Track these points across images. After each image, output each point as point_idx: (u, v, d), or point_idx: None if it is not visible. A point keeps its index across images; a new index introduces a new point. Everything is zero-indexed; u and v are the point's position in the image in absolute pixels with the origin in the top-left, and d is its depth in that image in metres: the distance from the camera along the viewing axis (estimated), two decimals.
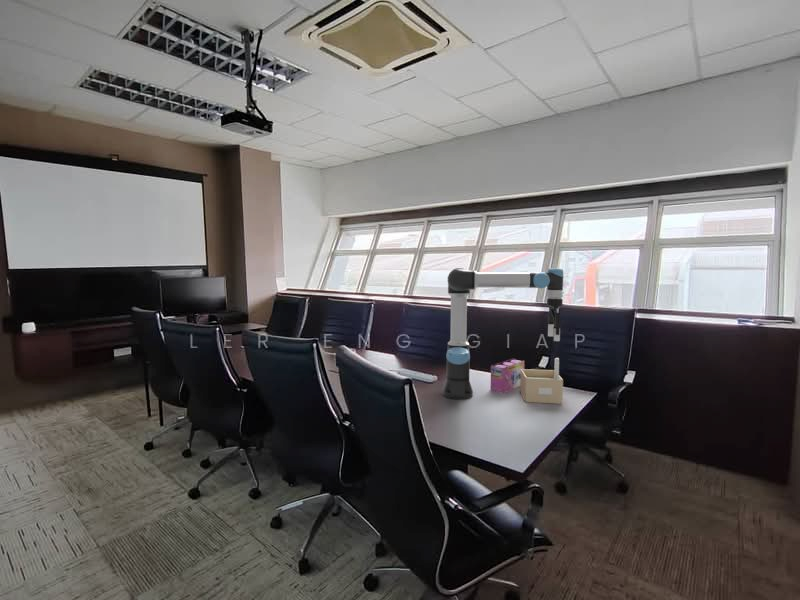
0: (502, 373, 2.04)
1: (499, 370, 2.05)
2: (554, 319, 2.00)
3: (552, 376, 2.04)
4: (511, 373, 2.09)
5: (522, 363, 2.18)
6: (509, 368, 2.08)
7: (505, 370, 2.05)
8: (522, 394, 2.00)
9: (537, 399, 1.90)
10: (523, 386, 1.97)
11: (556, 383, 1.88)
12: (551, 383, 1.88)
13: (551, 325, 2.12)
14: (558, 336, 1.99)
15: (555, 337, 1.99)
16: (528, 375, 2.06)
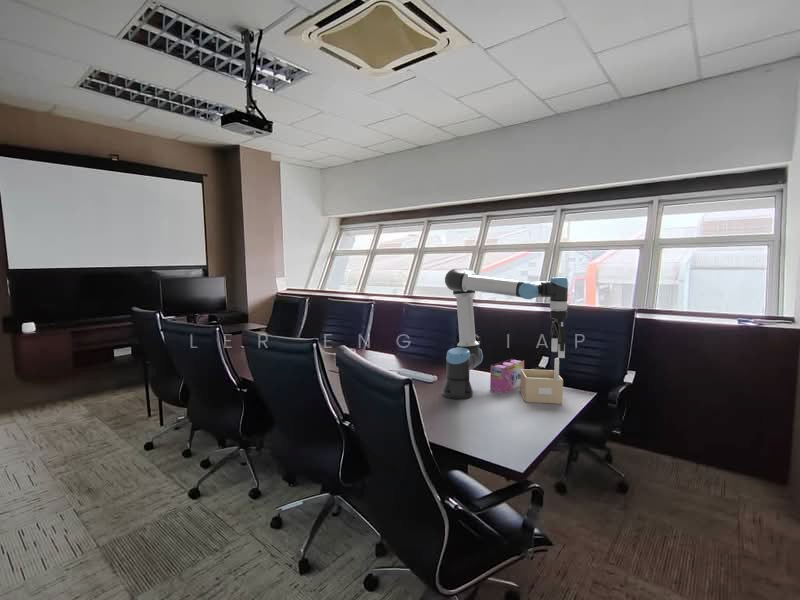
0: (502, 373, 2.04)
1: (499, 371, 2.05)
2: (558, 334, 1.81)
3: (552, 376, 2.04)
4: (511, 373, 2.09)
5: (522, 363, 2.17)
6: (508, 368, 2.08)
7: (504, 370, 2.05)
8: (522, 394, 2.00)
9: (537, 399, 1.90)
10: (523, 386, 1.97)
11: (556, 383, 1.88)
12: (551, 383, 1.88)
13: (555, 339, 1.93)
14: (563, 352, 1.80)
15: (560, 353, 1.80)
16: (528, 375, 2.06)
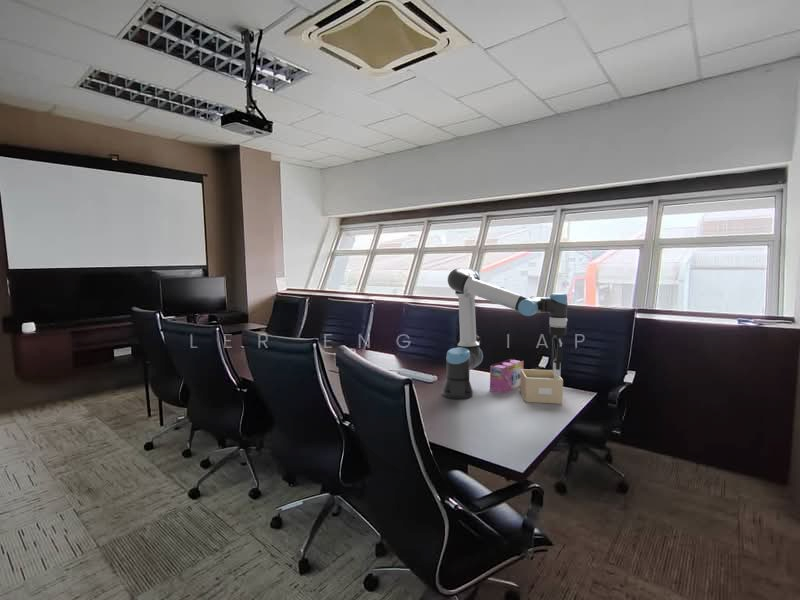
0: (502, 373, 2.04)
1: (499, 371, 2.05)
2: (556, 352, 1.85)
3: (552, 376, 2.04)
4: (510, 373, 2.09)
5: (521, 363, 2.17)
6: (508, 369, 2.07)
7: (504, 371, 2.05)
8: (522, 394, 2.00)
9: (537, 399, 1.90)
10: (523, 386, 1.97)
11: (556, 383, 1.88)
12: (551, 383, 1.88)
13: None
14: (559, 371, 1.86)
15: (555, 372, 1.86)
16: (528, 375, 2.06)
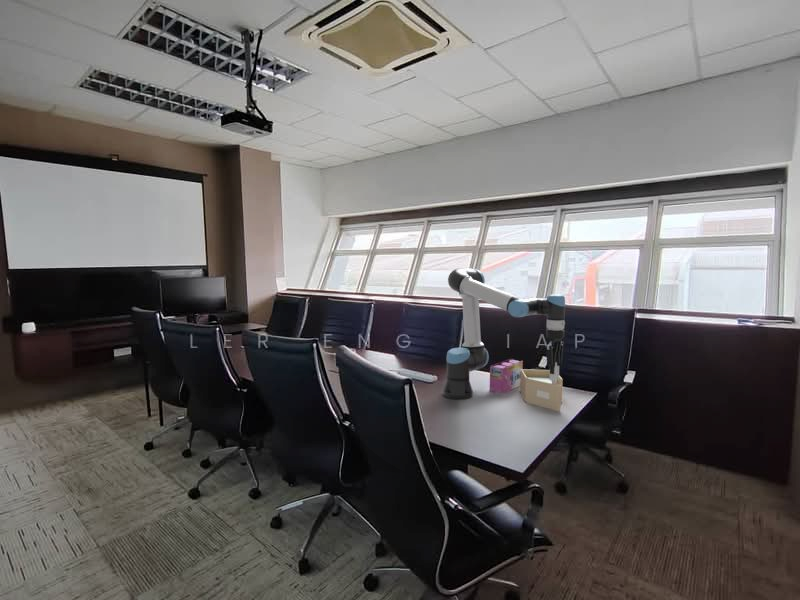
0: (501, 373, 2.04)
1: (499, 371, 2.04)
2: None
3: None
4: (510, 373, 2.09)
5: (521, 363, 2.17)
6: (508, 369, 2.07)
7: (504, 371, 2.04)
8: (522, 394, 2.00)
9: (535, 401, 1.87)
10: (523, 386, 1.97)
11: (553, 388, 1.80)
12: (549, 387, 1.82)
13: None
14: (553, 375, 1.78)
15: (550, 376, 1.79)
16: (528, 375, 2.06)
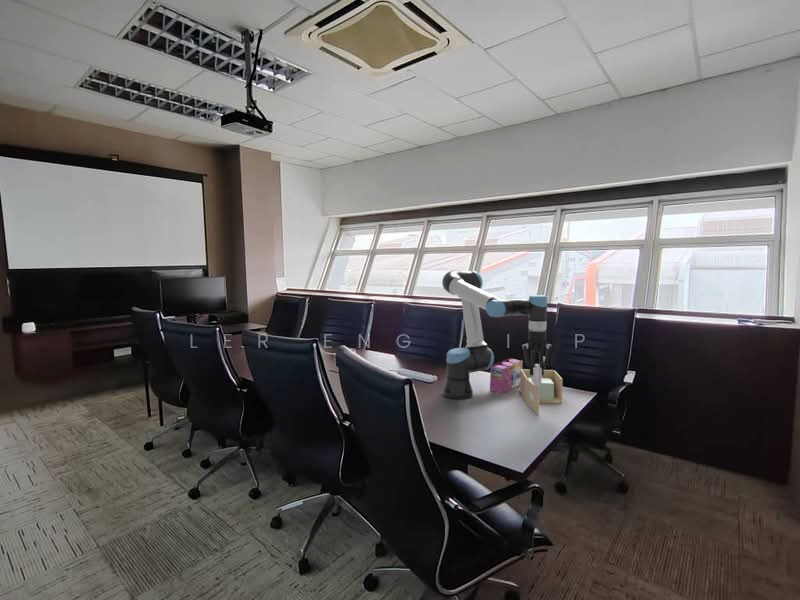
0: (502, 374, 2.03)
1: (500, 371, 2.03)
2: None
3: (552, 376, 2.04)
4: (510, 373, 2.08)
5: (521, 363, 2.17)
6: (509, 369, 2.06)
7: (505, 371, 2.03)
8: (522, 394, 2.00)
9: (528, 402, 1.86)
10: (523, 386, 1.97)
11: (535, 391, 1.76)
12: (534, 389, 1.79)
13: (539, 369, 1.76)
14: (533, 377, 1.75)
15: (532, 377, 1.77)
16: (528, 375, 2.06)
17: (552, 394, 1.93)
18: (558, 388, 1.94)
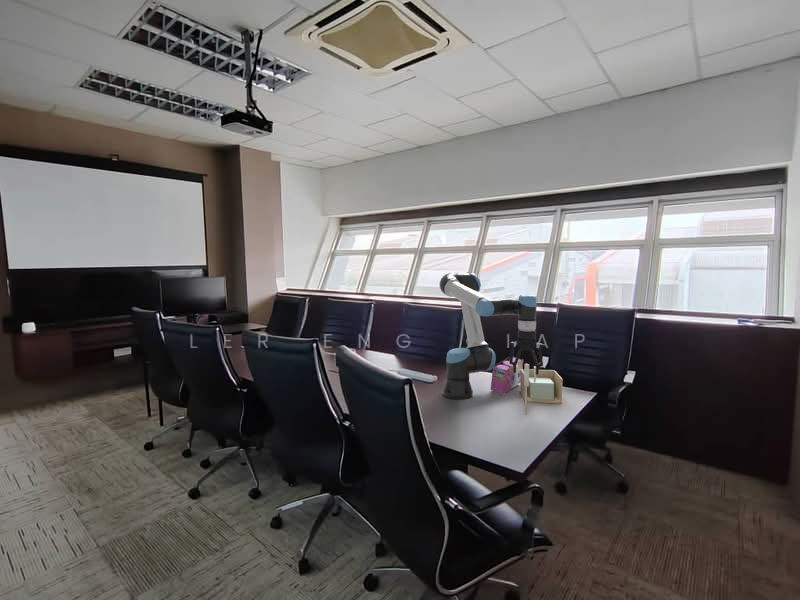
0: (505, 375, 2.01)
1: (502, 372, 2.02)
2: (517, 354, 1.78)
3: (552, 376, 2.04)
4: (512, 374, 2.07)
5: (521, 362, 2.15)
6: (510, 369, 2.05)
7: (507, 372, 2.02)
8: (522, 394, 2.00)
9: None
10: (523, 386, 1.97)
11: None
12: None
13: (534, 368, 1.75)
14: None
15: None
16: None
17: (552, 394, 1.93)
18: (558, 388, 1.94)
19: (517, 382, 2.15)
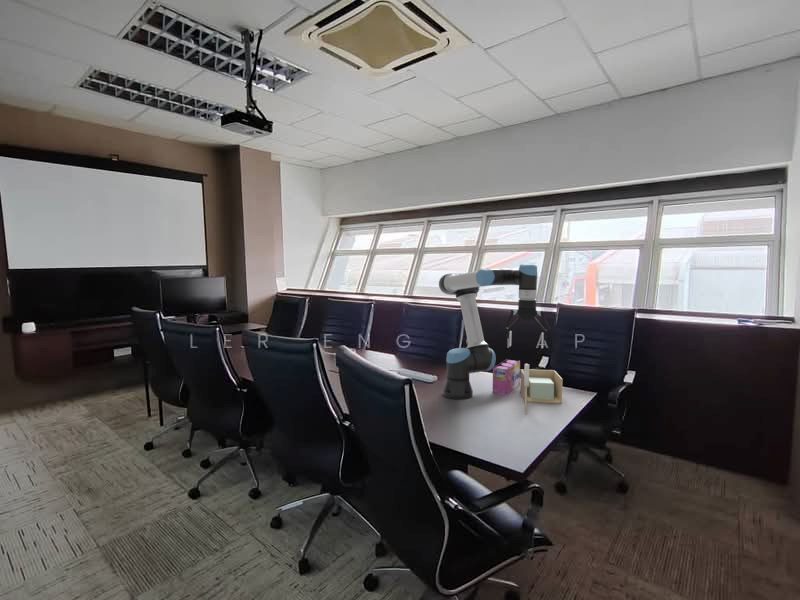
0: (506, 375, 2.01)
1: (503, 372, 2.02)
2: None
3: (552, 376, 2.04)
4: (512, 374, 2.08)
5: (519, 363, 2.17)
6: (510, 369, 2.06)
7: (508, 372, 2.02)
8: (522, 394, 2.00)
9: None
10: (523, 386, 1.97)
11: None
12: None
13: None
14: (509, 340, 1.77)
15: None
16: None
17: (552, 394, 1.93)
18: (558, 388, 1.94)
19: (517, 384, 2.16)
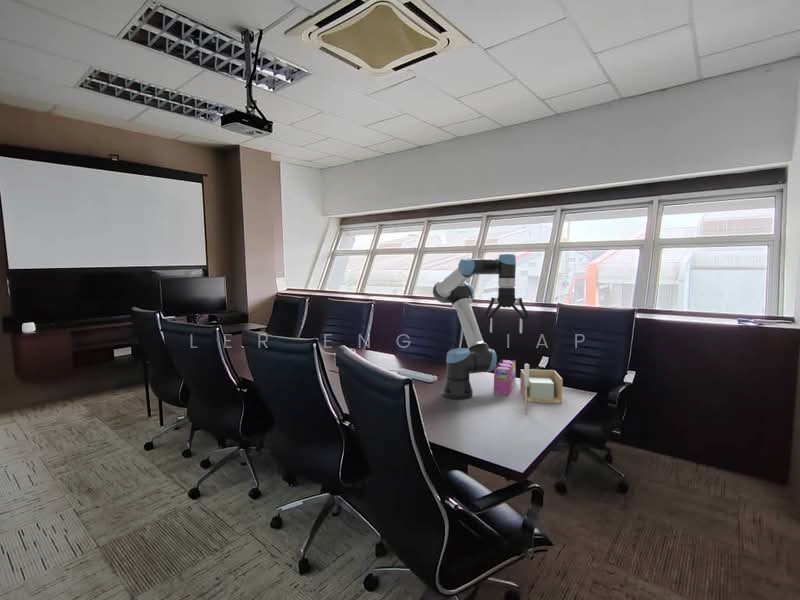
0: (508, 375, 2.01)
1: (505, 373, 2.01)
2: None
3: (552, 376, 2.04)
4: (511, 374, 2.08)
5: None
6: (510, 370, 2.05)
7: (509, 372, 2.02)
8: (522, 394, 2.00)
9: None
10: (523, 386, 1.97)
11: None
12: None
13: (520, 320, 1.83)
14: (490, 327, 1.85)
15: None
16: None
17: (552, 394, 1.93)
18: (558, 388, 1.94)
19: (514, 383, 2.16)
